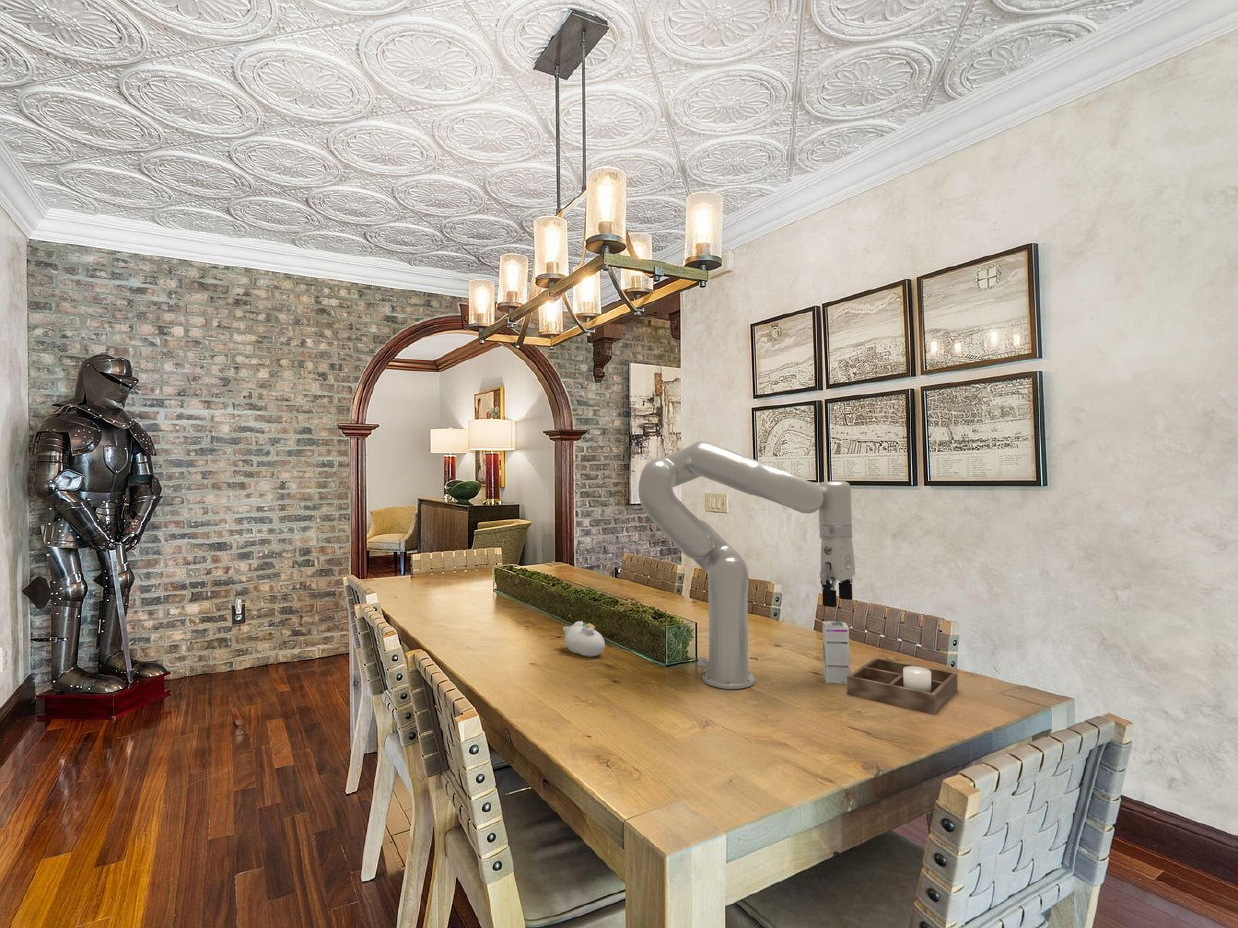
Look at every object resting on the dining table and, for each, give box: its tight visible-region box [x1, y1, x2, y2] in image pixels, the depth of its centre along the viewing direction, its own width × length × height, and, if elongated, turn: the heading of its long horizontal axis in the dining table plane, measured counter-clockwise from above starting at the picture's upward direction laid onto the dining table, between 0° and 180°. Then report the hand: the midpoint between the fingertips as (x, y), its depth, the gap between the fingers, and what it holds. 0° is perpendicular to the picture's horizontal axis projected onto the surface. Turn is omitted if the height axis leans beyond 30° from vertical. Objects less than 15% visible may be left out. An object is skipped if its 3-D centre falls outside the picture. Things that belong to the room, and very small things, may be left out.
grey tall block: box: [822, 620, 851, 685], centre depth 154 cm, size 6×6×14 cm
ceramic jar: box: [903, 666, 931, 693], centre depth 139 cm, size 6×6×7 cm
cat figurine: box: [562, 620, 606, 658], centre depth 180 cm, size 10×8×15 cm
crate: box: [846, 657, 959, 716], centre depth 145 cm, size 18×18×5 cm
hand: (837, 602), depth 154 cm, fingers open, 9 cm apart
